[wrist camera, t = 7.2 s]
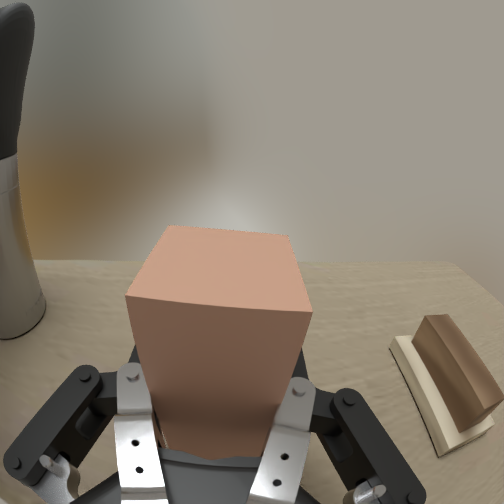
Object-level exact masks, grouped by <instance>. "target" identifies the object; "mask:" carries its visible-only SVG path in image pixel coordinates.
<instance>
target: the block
mask: <svg viewBox="0 0 504 504" xmlns="http://www.w3.org/2000/svg"><path fill="white" fill-rule="evenodd" d="M125 298H126V303H127V308H128V313H129V318H130V323H131V327H132V332H133V336H134V340H135V345H136V349H137V352H138V356H139V360H140V364H141V367H142V371H143V374H144V378H145V381H146V384H147V388H148V391H149V392H150V394H151V397H152V401H153V406H154V409H155V412H156V415H157V417H158V418H159V420H160V424H161V428H162V431H163V434H164V436H165V439H166V441H167V444H168V446H169V448H170V449H171V450H177V451H184V452H186V453H189V454H192V455H195V456H198V457H201V458H204V459H207V460H215V459H222V458H229V457H235V456H244V457H259V455H260V453H261V450H262V447H263V444H264V441H265V438H266V435H267V432H268V429H269V427H271V425H272V422H273V419H274V415H275V412H276V409H277V406H278V404H281V403H282V401H283V398H284V396H285V393H286V390H287V388H288V385H289V382H290V379H291V377H292V374H293V371H294V368H295V365H296V363H297V360H298V357H299V354H300V351H301V348H302V345H303V342H304V339H305V336H306V332H307V329H308V326H309V323H310V320H311V317H312V313H313V310H312V307H311V304H310V301H309V298H308V295H307V292H306V289H305V285H304V282H303V279H302V276H301V273H300V270H299V267H298V264H297V261H296V258H295V256H294V253H293V250H292V247H291V244H290V241H289V238H288V235H278V234H267V233H257V232H245V231H234V230H222V229H210V228H199V227H186V226H173V225H169V226H168V227H167V229H166V230H165V232H164V233H163V235H162V236H161V238H160V239H159V241H158V242H157V244H156V246H155V247H154V249H153V250H152V252H151V253H150V255H149V256H148V258H147V260H146V261H145V263H144V264H143V266H142V268H141V269H140V271H139V272H138V274H137V276H136V277H135V279H134V281H133V282H132V284H131V286H130V287H129V289H128V291H127V293H126V294H125Z"/></svg>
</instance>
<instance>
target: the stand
mask: <svg viewBox="0 0 504 504" xmlns="http://www.w3.org/2000/svg"><path fill="white" fill-rule="evenodd" d="M389 347H390V349H391V351H392V353H393V355H394V357H395V359H396V361H397V363H398V365H399V367H400V369H401V371H402V373H403V375H404V377H405V379H406V381H407V383H408V386H409V388H410V390H411V392H412V394H413V396H414V399H415V401H416V403H417V405H418V407H419V410H420V412H421V414H422V417H423V419H424V421H425V424H426V426H427V428H428V431H429V433H430V436H431V438H432V441H433V443H434V446H435V448H436V451H437V454H438V456H439V457H440V456H442V455H444V454H446V453H448V452H451V451H453V450H455V449H457V448H459V447H461V446H463V445H464V444H466V443H468V442H470V441H472V440H474V439H475V438H477V437H479V436H481V435H482V434H484V433H486V432H487V431H488V430H489V429H490V428H491V427H492V426H493V425H494V424H495V423H494V421H493V419H492V417H491V415H490V413H491V412H492V411H493V410H494V409H495V408H496V407H497V406H498V405H499V404H500V403H501V402H502V401H503V400H504V395H503V393H502V391H501V390H500V388H499V386H498V385H497V383H496V381H495V380H494V378H493V377H492V375H491V374H490V372H489V371H488V369H487V367H486V366H485V364H484V363H483V362H482V360H481V359H480V357H479V356H478V354H477V353H476V351H475V350H474V349H473V347H472V346H471V344H470V343H469V342H468V340H467V339H466V338H465V336H464V335H463V334H462V332H461V331H460V330H459V328H458V327H457V326H456V324H455V323H454V322H453V321H452V319H451V318H450V317H449V315H448V314H444V315H427V316H425V317H424V319H423V321H422V323H421V325H420V326H419V328H418V330H417V332H416V334H415V335H408V336H395V337H394V339H393V341H392V343H391V344H390V346H389Z"/></svg>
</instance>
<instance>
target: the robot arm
mask: <svg viewBox="0 0 504 504" xmlns="http://www.w3.org/2000/svg"><path fill="white" fill-rule="evenodd" d="M34 28H35V22H34V15H33V12H32V10H31V8H30V7H29V6H28V5H27V4H25V3H14V4H10V5H7V6H5V7H2V8H0V338H1V339H8V338H13V337H17V336H19V335H22V334H23V333H25V332H27V331H29V330H30V329H31V328H32V327H34V326H35V325H36V324H37V323H38V321H39V320H40V319H41V317H42V316H43V313H44V311H45V306H46V304H45V299H44V296H43V293H42V290H41V287H40V284H39V280H38V277H37V273H36V270H35V266H34V262H33V258H32V254H31V250H30V246H29V242H28V237H27V232H26V227H25V222H24V216H23V209H22V203H21V196H20V186H19V177H18V163H17V154H16V153H17V136H18V131H19V126H20V121H21V111H22V100H23V92H24V86H25V80H26V75H27V70H28V65H29V60H30V56H31V51H32V46H33V40H34ZM114 415H115V416H114ZM113 416H114V427H115V441H116V452H117V461H118V469H119V471H117V472H116V473H114V474H113V475H111V476H110V477H109V478H107V479H106V480H104V481H103V482H101V483H100V484H98V485H97V486H95V487H94V488H92V489H91V490H89V491H88V492H86V493H84V494H83V495H81V496H80V497H79V495H78V486H79V483H80V473H79V471H78V470H77V468H78V467H79V465H80V464H81V462H82V461H83V459H84V458H85V457H86V455H87V454H88V452H89V451H90V449H91V448H92V446H93V445H94V443H95V442H96V441H97V439H98V438H99V436H100V435H101V433H102V432H103V431H104V429H105V428H106V426H107V425H108V423H109V422H110V421H111V419H112V418H113ZM311 432H314V433H316V434H317V436H318V438H319V439H320V441H321V443H322V445H323V447H324V449H325V451H326V452H327V454H328V456H329V458H330V460H331V462H332V463H333V465H334V467H335V469H336V471H337V472H338V474H339V476H340V478H341V480H342V481H343V483H344V485H345V487H346V488H347V490H348V492H347V493H346V494H345V496H344V498H343V504H424V503H425V501H426V491H425V489H424V487H423V486H422V484H421V483H420V481H419V480H418V478H417V477H416V475H415V474H414V472H413V471H412V469H411V468H410V466H409V465H408V463H407V462H406V460H405V459H404V457H403V456H402V454H401V453H400V452H399V450H398V449H397V447H396V446H395V444H394V443H393V441H392V440H391V438H390V437H389V435H388V434H387V432H386V431H385V429H384V428H383V426H382V425H381V423H380V422H379V421H378V419H377V418H376V416H375V415H374V413H373V412H372V410H371V409H370V407H369V406H368V404H367V403H366V402H365V400H364V399H363V397H362V396H361V394H360V393H359V392H357V391H356V390H353V389H350V388H344V389H340V390H339V391H337V392H336V393H331V392H326V391H322V390H319V389H317V388H316V387H315V386H314V385H313V383H312V382H310V381H309V379H308V375H307V370H306V365H305V360H304V356H303V351H302V348H301V351H300V354H299V357H298V360H297V363H296V365H295V368H294V371H293V374H292V377H291V379H290V382H289V385H288V388H287V390H286V393H285V396H284V398H283V401H282V403H281V404H278V406H277V409H276V412H275V415H274V419H273V422H272V425H271V427H269V429H268V432H267V435H266V438H265V441H264V444H263V447H262V450H261V453H260V455H259V457H244V456H235V457H229V458H222V459H215V460H207V459H204V458H201V457H198V456H195V455H192V454H189V453H186V452H184V451H177V450H171V449H166V447H165V443H164V440H163V435H162V429H161V424H160V420H159V418H158V417H157V415H156V412H155V409H154V406H153V401H152V397H151V394H150V392H149V391H148V388H147V384H146V381H145V378H144V374H143V371H142V367H141V364H140V360H139V356H138V352H137V349H136V345H135V346H134V349H133V351H132V354H131V357H130V359H129V362H128V363H127V364H124V365H123V366H121V367H120V368H119V370H118V371H116V372H108V373H99V372H98V370H97V369H96V368H95V367H93V366H91V365H82V366H79V367H77V368H76V369H75V370H74V371H73V372H72V373H71V374H70V375H69V376H68V378H67V379H66V380H65V381H64V382H63V383H62V384H61V385H60V387H59V388H58V389H57V390H56V391H55V392H54V394H53V395H52V396H51V397H50V398H49V399H48V400H47V402H46V403H45V404H44V405H43V406H42V408H41V409H40V410H39V411H38V412H37V414H36V415H35V416H34V417H33V418H32V420H31V421H30V422H29V423H28V424H27V426H26V427H25V428H24V429H23V431H22V432H21V433H20V434H19V436H18V437H17V438H16V439H15V441H14V442H13V443H12V445H11V446H10V447H9V448H8V450H7V451H6V453H5V454H4V458H3V463H4V467H5V469H6V471H7V472H8V474H9V475H11V476H12V477H13V478H15V479H17V480H18V481H20V482H21V483H22V484H24V485H26V486H27V487H29V488H31V489H32V490H33V491H34V492H35V493H37V494H38V495H39V496H40V497H41V498H42V499H43V500H44V501H45V502H47V503H48V504H320V503H319V502H318V501H317V500H316V499H314V498H313V497H312V496H311V495H310V494H309V493H308V492H306V491H305V490H304V489H303V488H302V487H301V486H300V485H299V484H300V480H301V476H302V472H303V468H304V464H305V460H306V455H307V451H308V446H309V441H310V436H311Z"/></svg>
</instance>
